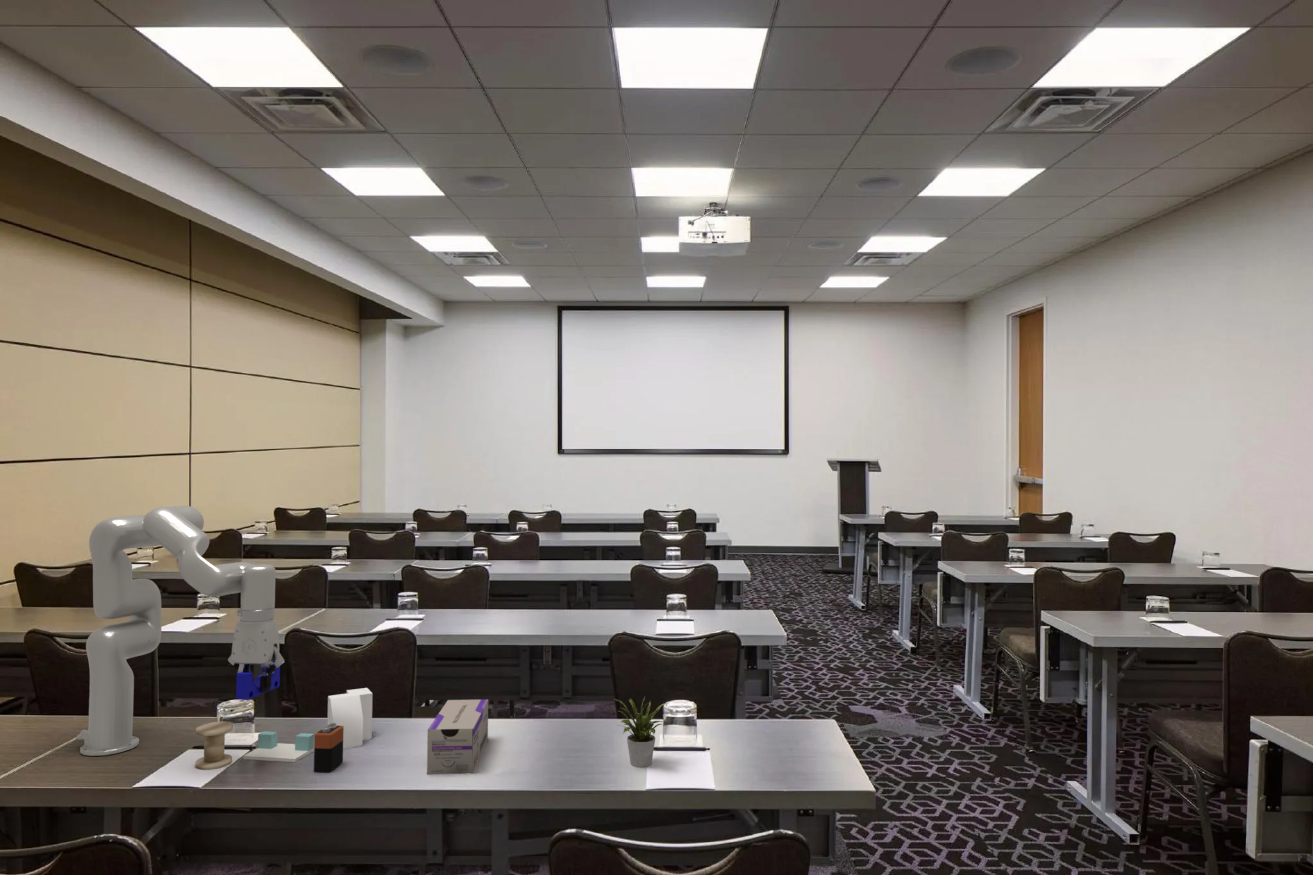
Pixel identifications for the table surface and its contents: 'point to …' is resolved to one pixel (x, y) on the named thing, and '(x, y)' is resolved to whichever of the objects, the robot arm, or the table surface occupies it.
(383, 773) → the table surface
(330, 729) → the battery
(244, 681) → the blue cradle bracket
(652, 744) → the house plant
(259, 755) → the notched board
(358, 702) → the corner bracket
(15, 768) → the table surface
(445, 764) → the surgical sutures box
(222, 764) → the bobbin
